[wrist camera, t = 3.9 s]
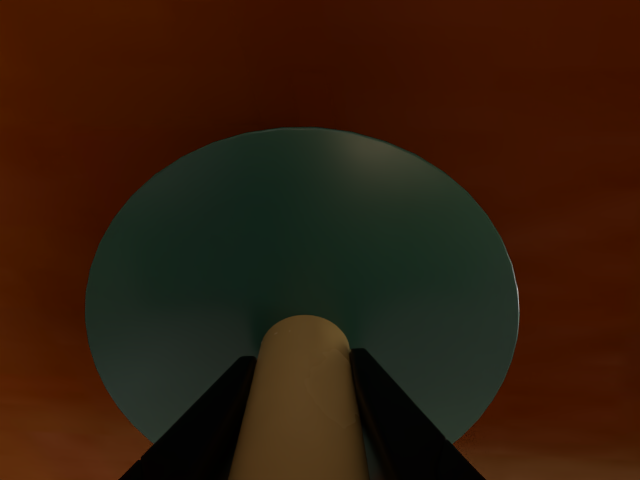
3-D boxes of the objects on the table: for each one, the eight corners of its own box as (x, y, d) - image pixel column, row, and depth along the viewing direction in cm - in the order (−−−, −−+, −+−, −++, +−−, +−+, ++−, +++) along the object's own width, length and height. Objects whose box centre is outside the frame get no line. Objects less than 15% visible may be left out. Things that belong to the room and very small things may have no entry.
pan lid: (556, 367, 11) (778, 591, 6) (269, 505, 13) (238, 757, 8) (371, 16, 7) (510, -249, 2) (20, 285, 10) (-336, 479, 4)
